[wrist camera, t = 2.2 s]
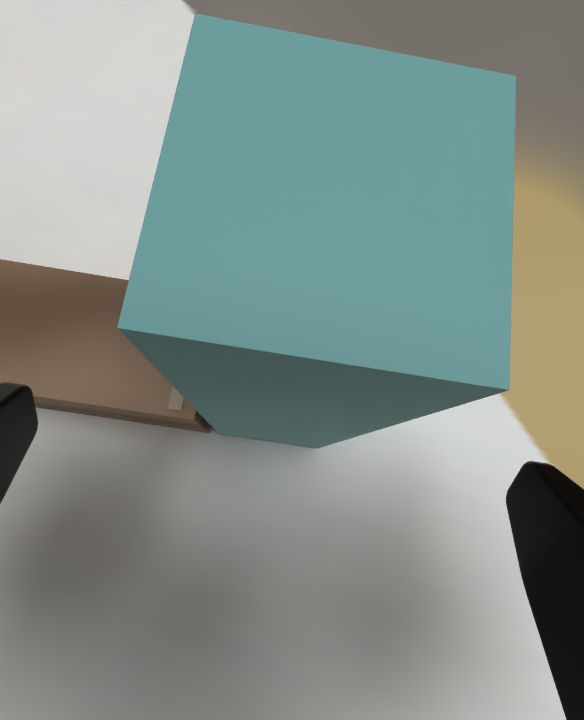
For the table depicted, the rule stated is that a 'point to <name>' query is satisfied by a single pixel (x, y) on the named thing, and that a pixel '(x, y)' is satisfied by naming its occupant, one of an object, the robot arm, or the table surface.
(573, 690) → the robot arm
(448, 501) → the table surface
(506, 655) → the table surface
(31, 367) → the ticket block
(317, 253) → the tall teal pillar
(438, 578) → the table surface
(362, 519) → the table surface
